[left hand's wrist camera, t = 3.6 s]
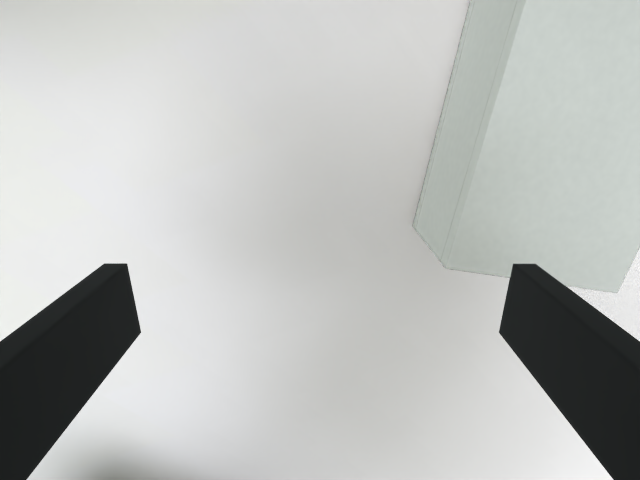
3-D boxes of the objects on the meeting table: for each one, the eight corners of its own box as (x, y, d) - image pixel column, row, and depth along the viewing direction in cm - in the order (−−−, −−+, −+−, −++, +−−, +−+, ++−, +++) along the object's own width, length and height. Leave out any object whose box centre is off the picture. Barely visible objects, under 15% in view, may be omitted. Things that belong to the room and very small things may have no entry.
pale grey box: (490, -80, 23) (578, -174, 15) (656, -46, 24) (820, -120, 16) (412, 226, 30) (445, 269, 22) (541, 245, 31) (617, 293, 23)
